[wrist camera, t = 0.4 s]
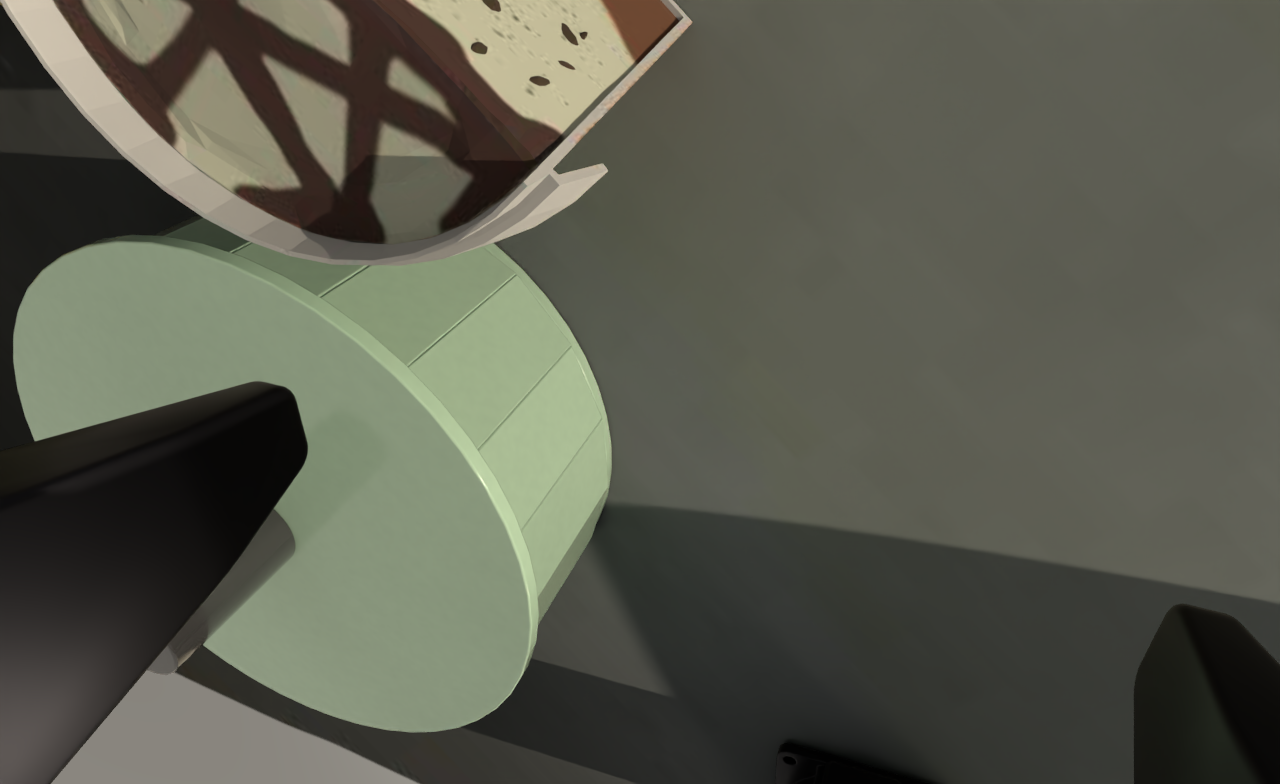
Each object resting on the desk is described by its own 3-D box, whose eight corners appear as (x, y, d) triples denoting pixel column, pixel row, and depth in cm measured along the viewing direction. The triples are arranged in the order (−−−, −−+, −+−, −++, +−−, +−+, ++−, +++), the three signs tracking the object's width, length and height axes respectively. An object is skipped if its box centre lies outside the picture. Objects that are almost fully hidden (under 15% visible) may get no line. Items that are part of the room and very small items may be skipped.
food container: (254, -114, 21) (-179, -97, 14) (349, -361, 18) (-171, -531, 10) (585, 228, 23) (371, 417, 15) (736, 70, 20) (554, 213, 12)
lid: (576, 766, 27) (493, 940, 23) (169, 632, 33) (41, 751, 29) (502, 262, 18) (334, 396, 13) (-53, 199, 23) (-297, 278, 19)
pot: (626, 621, 32) (553, 768, 27) (278, 531, 37) (162, 638, 32) (591, 194, 23) (471, 292, 18) (138, 158, 28) (-54, 225, 23)
